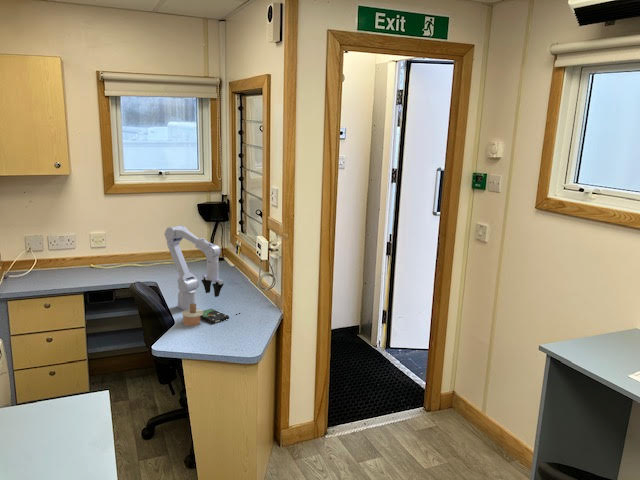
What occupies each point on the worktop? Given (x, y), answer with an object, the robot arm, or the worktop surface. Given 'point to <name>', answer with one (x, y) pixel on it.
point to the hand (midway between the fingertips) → (212, 294)
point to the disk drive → (213, 316)
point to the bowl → (191, 321)
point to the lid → (192, 311)
